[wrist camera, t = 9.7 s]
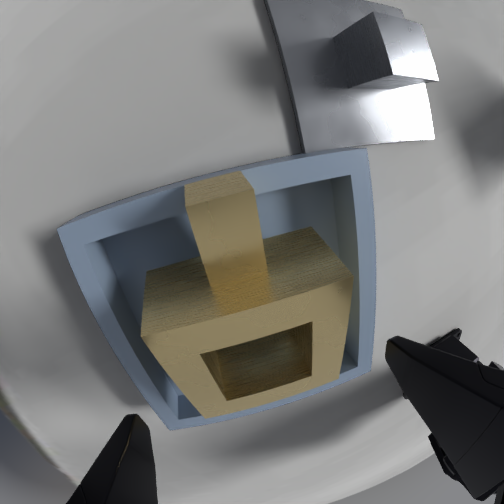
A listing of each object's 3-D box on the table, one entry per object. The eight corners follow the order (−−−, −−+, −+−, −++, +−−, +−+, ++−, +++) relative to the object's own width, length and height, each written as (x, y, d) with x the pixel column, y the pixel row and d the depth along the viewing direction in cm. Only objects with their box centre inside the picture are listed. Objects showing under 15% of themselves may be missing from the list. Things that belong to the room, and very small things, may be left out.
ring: (313, 331, 15) (338, 378, 12) (196, 365, 15) (205, 418, 12) (305, 156, 10) (358, 189, 7) (118, 205, 9) (94, 259, 6)
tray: (353, 348, 17) (370, 370, 15) (169, 401, 16) (169, 430, 14) (338, 147, 12) (366, 148, 10) (79, 215, 11) (56, 228, 9)
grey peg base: (430, 138, 13) (479, 143, 10) (302, 153, 12) (344, 154, 9) (397, 11, 10) (437, -7, 6) (262, -5, 9) (285, -48, 5)
